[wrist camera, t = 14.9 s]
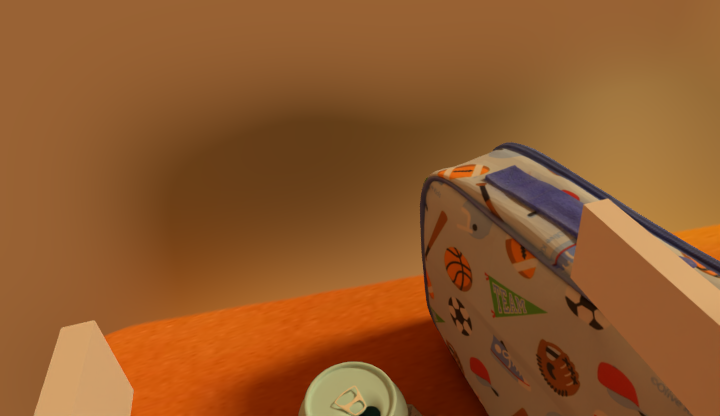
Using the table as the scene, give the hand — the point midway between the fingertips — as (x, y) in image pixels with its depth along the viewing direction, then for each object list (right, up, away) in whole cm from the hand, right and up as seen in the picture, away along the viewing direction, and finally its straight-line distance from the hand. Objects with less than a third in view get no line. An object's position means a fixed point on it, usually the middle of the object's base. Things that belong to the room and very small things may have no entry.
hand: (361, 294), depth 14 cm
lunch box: (+16, -15, +28) cm, 36 cm away
